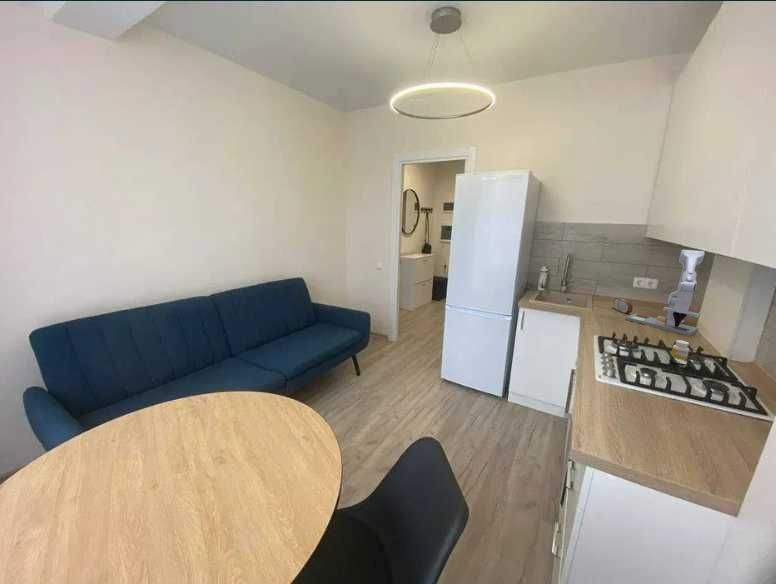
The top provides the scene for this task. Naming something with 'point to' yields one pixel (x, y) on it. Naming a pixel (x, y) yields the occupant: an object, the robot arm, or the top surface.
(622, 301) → the tin
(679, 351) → the supplement bottle
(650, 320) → the board
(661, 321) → the block
